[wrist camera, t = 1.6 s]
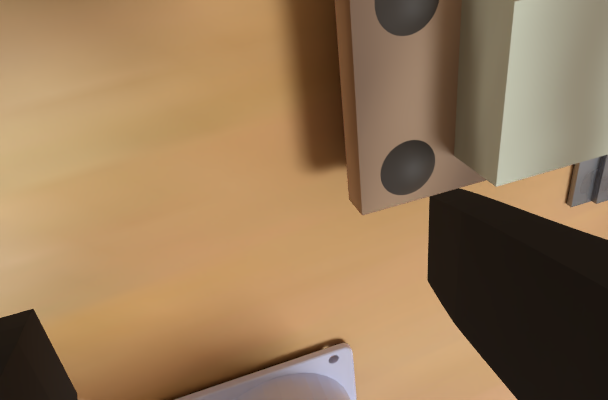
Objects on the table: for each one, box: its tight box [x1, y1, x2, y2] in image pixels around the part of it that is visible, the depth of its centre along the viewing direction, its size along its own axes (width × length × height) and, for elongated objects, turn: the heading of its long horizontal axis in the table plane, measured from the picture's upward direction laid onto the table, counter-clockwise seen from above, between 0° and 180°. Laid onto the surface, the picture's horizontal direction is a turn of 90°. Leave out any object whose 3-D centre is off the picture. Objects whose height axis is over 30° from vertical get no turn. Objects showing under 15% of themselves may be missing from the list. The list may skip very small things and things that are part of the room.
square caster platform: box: [335, 0, 608, 215], centre depth 17 cm, size 10×9×5 cm
